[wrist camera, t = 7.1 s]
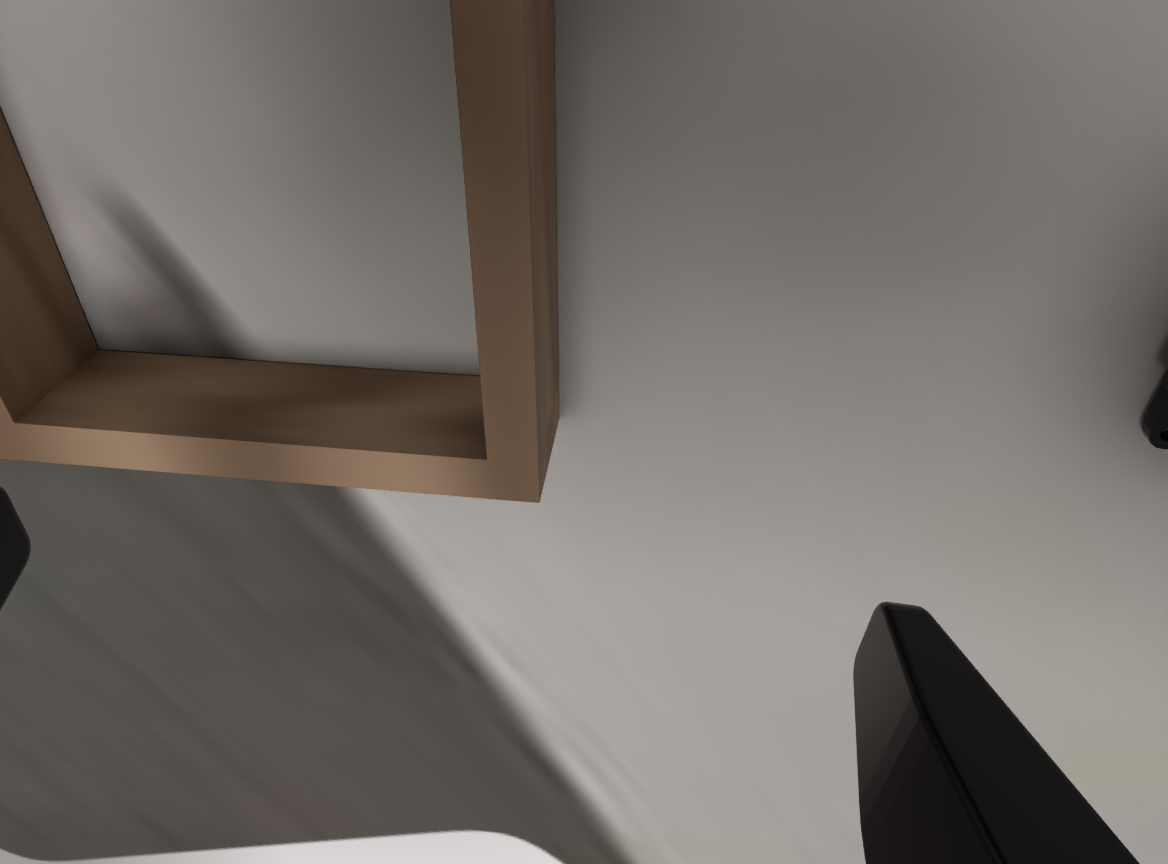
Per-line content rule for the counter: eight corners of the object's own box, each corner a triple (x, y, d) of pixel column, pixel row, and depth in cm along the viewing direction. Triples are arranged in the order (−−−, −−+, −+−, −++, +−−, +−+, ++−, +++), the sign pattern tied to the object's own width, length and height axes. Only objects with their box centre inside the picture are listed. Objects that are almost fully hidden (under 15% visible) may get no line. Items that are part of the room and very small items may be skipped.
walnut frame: (552, -172, 14) (517, -173, 12) (559, 418, 22) (539, 503, 19) (-175, -180, 16) (-364, -183, 13) (73, 383, 23) (-11, 457, 21)
